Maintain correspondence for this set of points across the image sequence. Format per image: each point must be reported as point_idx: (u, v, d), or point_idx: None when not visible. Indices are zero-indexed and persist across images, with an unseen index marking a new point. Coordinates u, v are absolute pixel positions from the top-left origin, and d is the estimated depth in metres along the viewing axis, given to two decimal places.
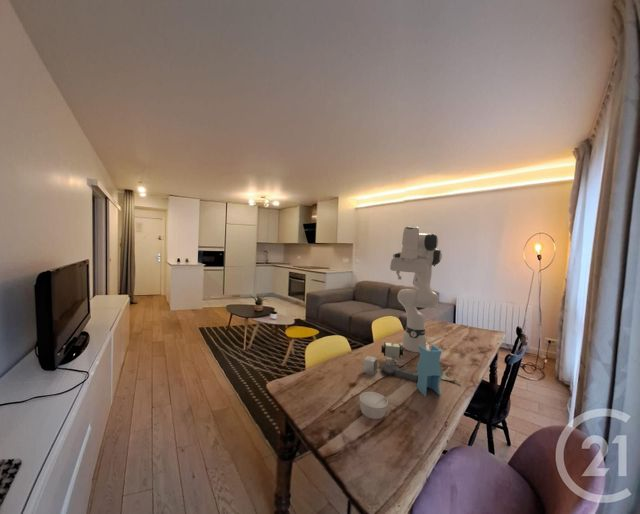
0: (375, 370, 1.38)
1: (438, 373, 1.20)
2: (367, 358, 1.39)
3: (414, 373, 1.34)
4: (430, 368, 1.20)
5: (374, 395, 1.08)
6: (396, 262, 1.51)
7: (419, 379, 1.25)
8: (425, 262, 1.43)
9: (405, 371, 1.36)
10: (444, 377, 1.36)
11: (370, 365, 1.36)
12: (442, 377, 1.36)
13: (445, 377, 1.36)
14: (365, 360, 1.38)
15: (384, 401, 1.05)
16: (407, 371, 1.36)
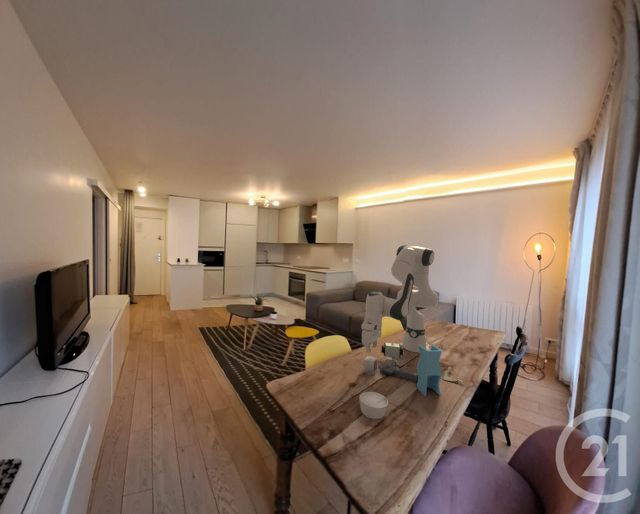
0: (375, 370, 1.38)
1: (438, 373, 1.20)
2: (367, 358, 1.39)
3: (414, 373, 1.34)
4: (430, 368, 1.20)
5: (374, 395, 1.08)
6: (371, 335, 1.32)
7: (419, 379, 1.25)
8: None
9: (405, 371, 1.36)
10: (446, 378, 1.36)
11: (370, 365, 1.36)
12: (444, 378, 1.36)
13: (447, 378, 1.36)
14: (365, 360, 1.38)
15: (384, 401, 1.05)
16: (407, 371, 1.36)
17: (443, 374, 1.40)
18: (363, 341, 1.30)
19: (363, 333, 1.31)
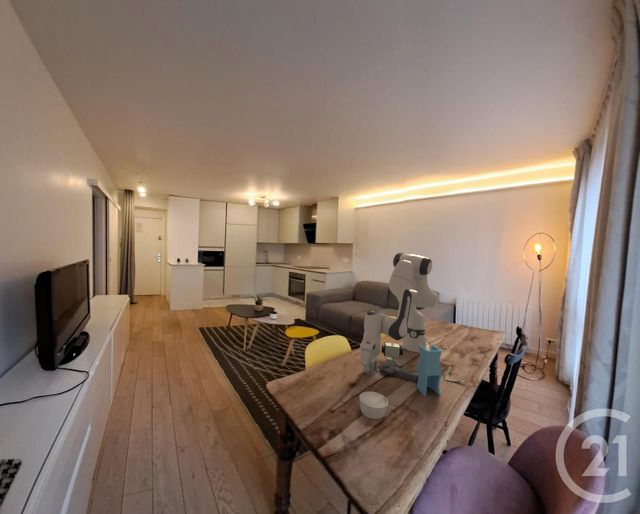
0: (375, 370, 1.38)
1: (438, 373, 1.20)
2: None
3: (414, 373, 1.34)
4: (430, 368, 1.20)
5: (374, 395, 1.08)
6: (369, 354, 1.33)
7: (419, 379, 1.25)
8: None
9: (405, 371, 1.36)
10: (448, 378, 1.36)
11: (370, 365, 1.36)
12: (446, 378, 1.36)
13: (449, 378, 1.36)
14: None
15: (384, 401, 1.05)
16: (407, 371, 1.36)
17: (444, 374, 1.40)
18: (362, 361, 1.31)
19: (362, 353, 1.31)
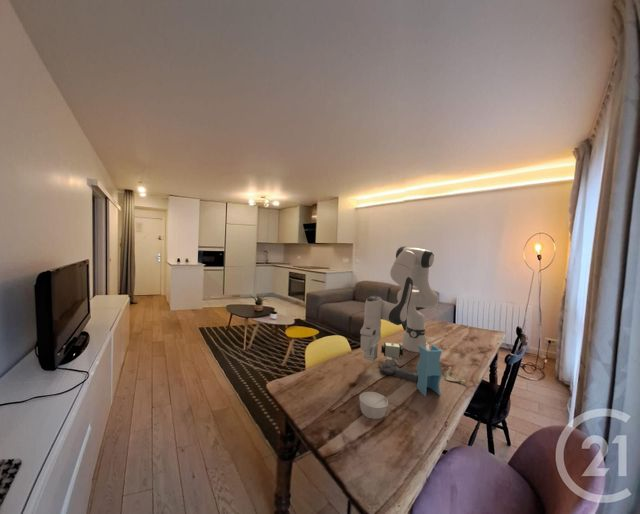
0: (376, 356, 1.39)
1: (438, 373, 1.20)
2: None
3: (414, 373, 1.34)
4: (430, 368, 1.20)
5: (374, 395, 1.08)
6: (369, 340, 1.33)
7: (419, 379, 1.25)
8: None
9: (405, 371, 1.36)
10: (449, 378, 1.36)
11: (370, 351, 1.37)
12: (447, 378, 1.36)
13: (450, 378, 1.35)
14: None
15: (384, 401, 1.05)
16: (407, 371, 1.36)
17: (445, 374, 1.40)
18: (362, 346, 1.31)
19: (362, 339, 1.32)
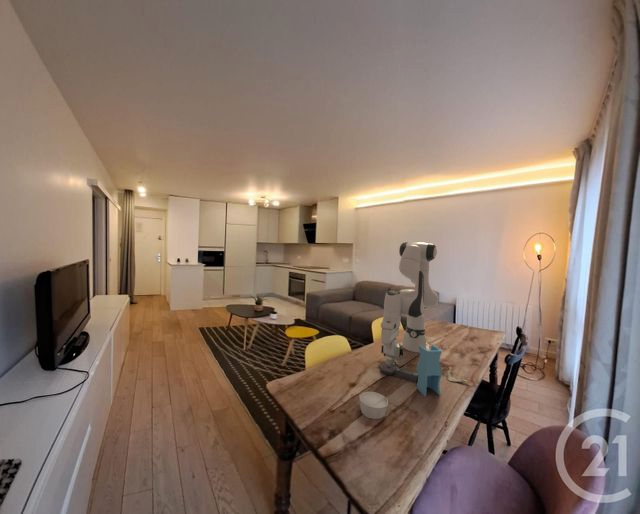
0: (395, 351, 1.39)
1: (438, 373, 1.20)
2: None
3: (414, 373, 1.34)
4: (430, 368, 1.20)
5: (374, 395, 1.08)
6: None
7: (419, 379, 1.25)
8: None
9: (405, 371, 1.36)
10: (451, 378, 1.35)
11: (390, 345, 1.37)
12: (449, 378, 1.35)
13: (452, 378, 1.35)
14: None
15: (384, 401, 1.05)
16: (407, 371, 1.36)
17: (447, 375, 1.40)
18: (383, 340, 1.31)
19: (383, 332, 1.32)
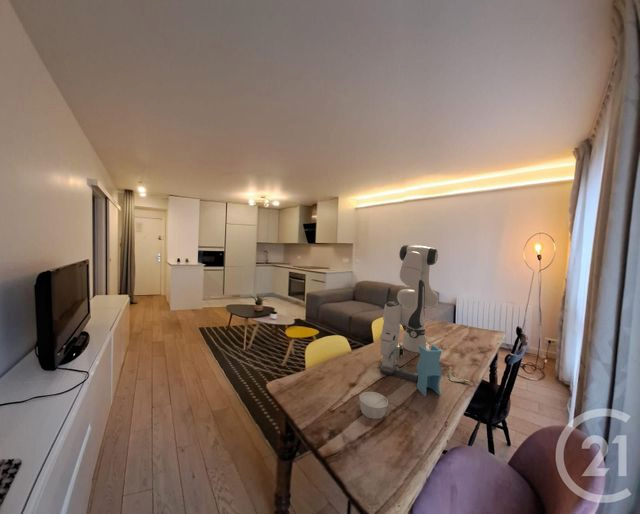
0: (394, 364, 1.39)
1: (438, 373, 1.20)
2: None
3: (414, 373, 1.34)
4: (430, 368, 1.20)
5: (374, 395, 1.08)
6: None
7: (419, 379, 1.25)
8: None
9: (405, 371, 1.36)
10: (453, 379, 1.35)
11: (389, 358, 1.37)
12: (451, 379, 1.35)
13: (454, 378, 1.35)
14: None
15: (384, 401, 1.05)
16: (407, 371, 1.36)
17: (448, 375, 1.40)
18: (382, 351, 1.32)
19: (382, 344, 1.32)
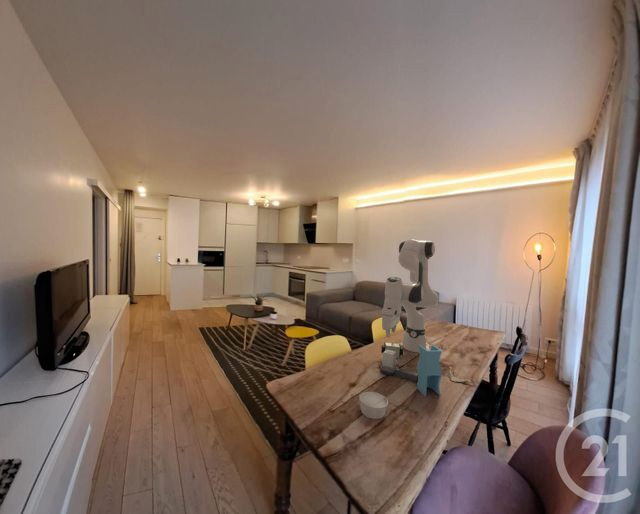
0: (394, 364, 1.39)
1: (438, 373, 1.20)
2: (386, 352, 1.40)
3: (414, 373, 1.34)
4: (430, 368, 1.20)
5: (374, 395, 1.08)
6: None
7: (419, 379, 1.25)
8: None
9: (405, 371, 1.36)
10: (454, 379, 1.35)
11: (389, 358, 1.37)
12: (452, 379, 1.35)
13: (455, 379, 1.35)
14: (384, 353, 1.39)
15: (384, 401, 1.05)
16: (407, 371, 1.36)
17: (449, 375, 1.39)
18: (384, 326, 1.31)
19: (384, 318, 1.32)
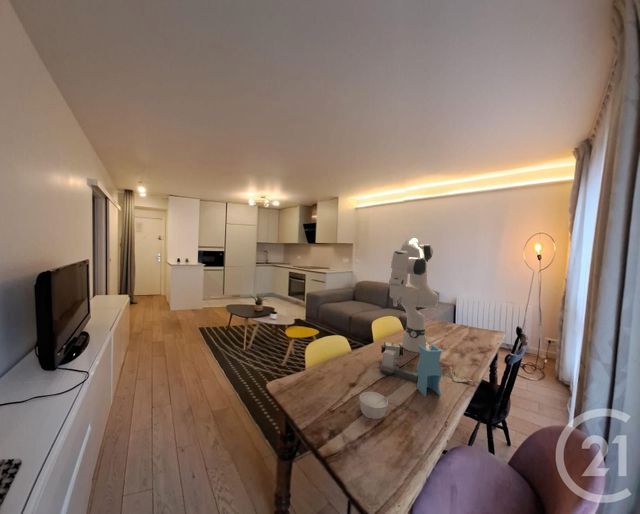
0: (394, 364, 1.39)
1: (438, 373, 1.20)
2: (386, 352, 1.40)
3: (414, 373, 1.34)
4: (430, 368, 1.20)
5: (374, 395, 1.08)
6: None
7: (419, 379, 1.25)
8: (405, 284, 1.54)
9: (405, 371, 1.36)
10: (456, 379, 1.35)
11: (389, 358, 1.37)
12: (454, 379, 1.35)
13: (457, 379, 1.35)
14: (384, 353, 1.39)
15: (384, 401, 1.05)
16: (407, 371, 1.36)
17: (450, 375, 1.39)
18: (391, 294, 1.39)
19: (391, 287, 1.40)
